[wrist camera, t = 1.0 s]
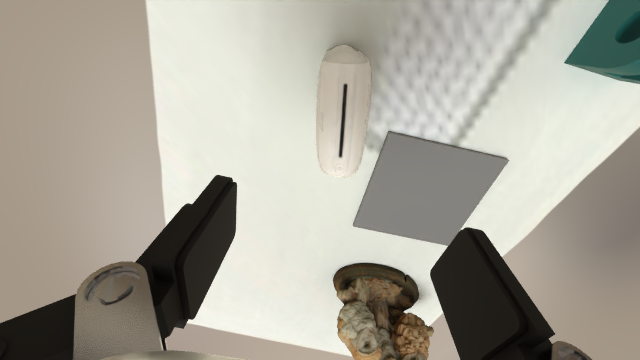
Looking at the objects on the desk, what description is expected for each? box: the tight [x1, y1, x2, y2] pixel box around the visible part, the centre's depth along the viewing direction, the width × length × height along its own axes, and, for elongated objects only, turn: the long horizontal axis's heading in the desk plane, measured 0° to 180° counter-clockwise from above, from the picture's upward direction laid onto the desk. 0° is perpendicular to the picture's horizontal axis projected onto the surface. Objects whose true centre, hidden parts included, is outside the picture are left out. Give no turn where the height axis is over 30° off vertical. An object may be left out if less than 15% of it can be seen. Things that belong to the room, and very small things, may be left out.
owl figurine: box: [333, 263, 434, 360], centre depth 40 cm, size 18×12×17 cm, turn 71°
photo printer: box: [316, 45, 371, 177], centre depth 23 cm, size 10×4×12 cm, turn 179°
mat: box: [353, 131, 509, 246], centre depth 35 cm, size 16×16×1 cm
